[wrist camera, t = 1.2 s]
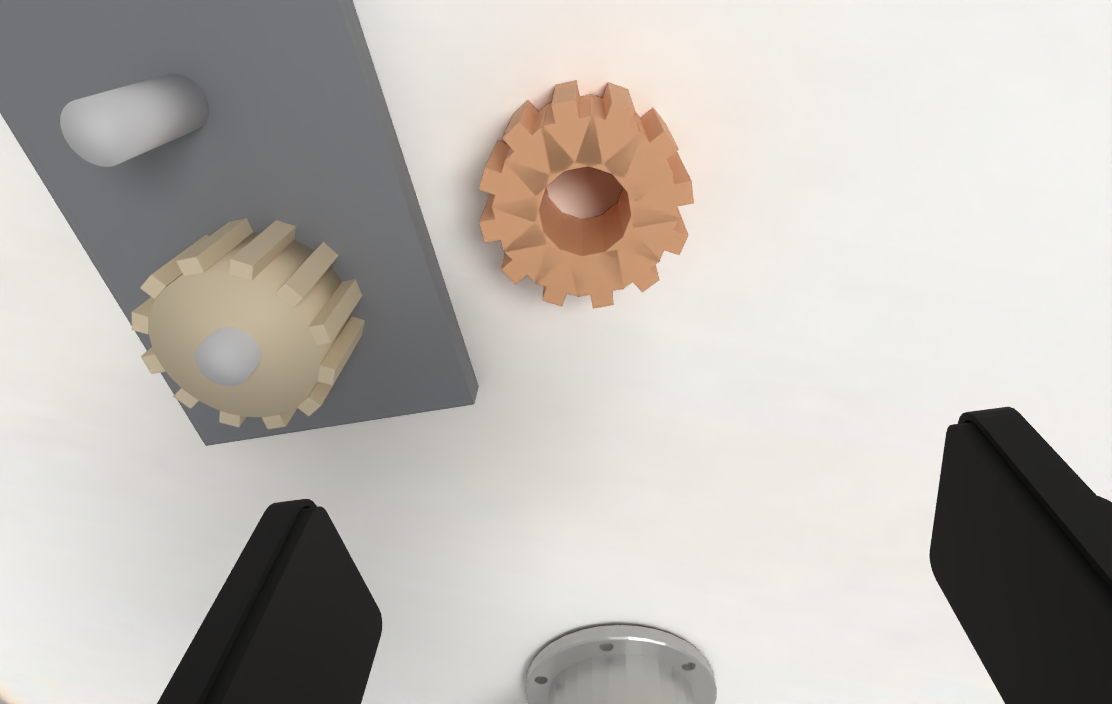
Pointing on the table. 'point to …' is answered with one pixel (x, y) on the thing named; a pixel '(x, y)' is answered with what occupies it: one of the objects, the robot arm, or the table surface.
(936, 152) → the table surface
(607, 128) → the loose gear
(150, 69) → the gear board
